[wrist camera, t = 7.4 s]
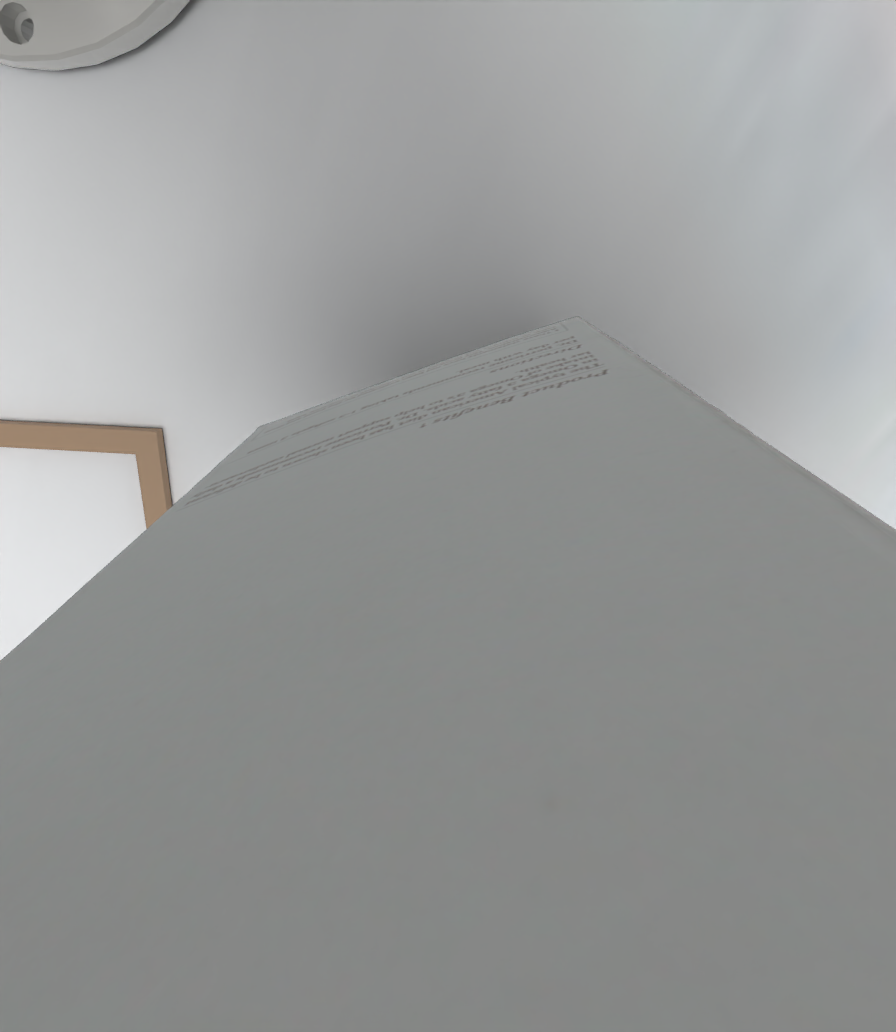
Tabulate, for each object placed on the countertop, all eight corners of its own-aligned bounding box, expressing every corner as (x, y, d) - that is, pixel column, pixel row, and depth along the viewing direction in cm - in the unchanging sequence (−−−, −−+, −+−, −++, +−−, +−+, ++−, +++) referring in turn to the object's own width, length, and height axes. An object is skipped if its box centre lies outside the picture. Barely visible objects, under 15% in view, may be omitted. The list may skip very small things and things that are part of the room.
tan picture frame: (-173, 411, 22) (-184, 413, 21) (161, 428, 21) (155, 431, 21) (-81, 693, 26) (-90, 700, 26) (199, 713, 25) (194, 720, 25)
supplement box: (378, 690, 16) (138, 1801, 5) (252, 419, 14) (-1036, 1464, 2) (668, 616, 15) (1304, 1861, 4) (594, 303, 12) (2289, 1242, 1)
